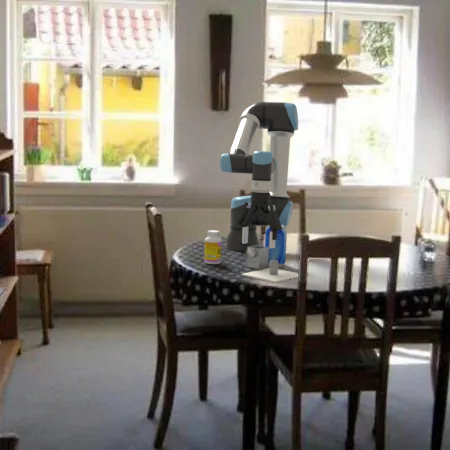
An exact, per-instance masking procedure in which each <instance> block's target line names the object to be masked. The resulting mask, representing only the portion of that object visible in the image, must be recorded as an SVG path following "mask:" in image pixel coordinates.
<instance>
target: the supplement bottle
mask: <svg viewBox="0 0 450 450" xmlns="http://www.w3.org/2000/svg"><path fill="white" fill-rule="evenodd" d="M222 242H223V240H222V238H221V237H220V231H219V230H215V229H214V230H212V229H211V230H207V237H205V238H204V256H203V257H204V259H203V262H204V264H208V265H219V264H221V262H222Z"/></svg>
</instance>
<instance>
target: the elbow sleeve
mask: <svg viewBox="0 0 450 450" xmlns="http://www.w3.org/2000/svg"><path fill="white" fill-rule="evenodd" d="M244 252H245V254H244V255H245V257H246V267H247V268H251V269H254V270H255V269H256V270H263V269H267V268H269V266H268V262H269V247H265V245H261V244H260V245H255V246H249V247H248V249H247V250H246V251H244Z"/></svg>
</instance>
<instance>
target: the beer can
mask: <svg viewBox="0 0 450 450" xmlns="http://www.w3.org/2000/svg"><path fill="white" fill-rule="evenodd" d="M281 227H282V230H279V231H278V232H277V240H275V248H269V262H268V267H270V260H277V261H279V262H278V268H281V267H284V265H285V264H286V254H287V253H286V252H287V235H288V232H287V229H286V227H285V226H284V225H281ZM270 231H272V230H271V228H270V226H269V225H268V227H267V228H266V229H265V237H264V246H265V247H269V243H270Z"/></svg>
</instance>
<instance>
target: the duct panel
mask: <svg viewBox="0 0 450 450" xmlns="http://www.w3.org/2000/svg"><path fill="white" fill-rule="evenodd" d="M278 262H279V261H277V260H270V266H269V267H267V268H263V269H257V270H254V271H250V272H244V273H241V276H242V277H246V276H247V277H246V278H251V277H252V279H256V280H260V281H265V282H270V283H275V284H278V283H282V282H285V281H286V282H287V281H290V280H289V279H291V280H295V279H299V278H298V273H299V272H294V271H289V270H285V269H279V267H278ZM294 278H295V279H294Z"/></svg>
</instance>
